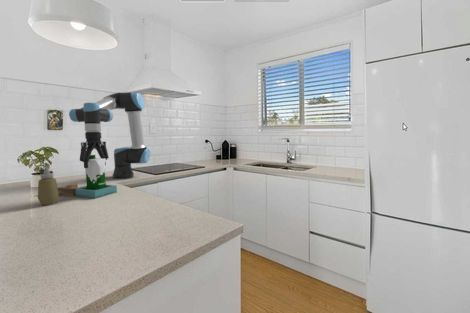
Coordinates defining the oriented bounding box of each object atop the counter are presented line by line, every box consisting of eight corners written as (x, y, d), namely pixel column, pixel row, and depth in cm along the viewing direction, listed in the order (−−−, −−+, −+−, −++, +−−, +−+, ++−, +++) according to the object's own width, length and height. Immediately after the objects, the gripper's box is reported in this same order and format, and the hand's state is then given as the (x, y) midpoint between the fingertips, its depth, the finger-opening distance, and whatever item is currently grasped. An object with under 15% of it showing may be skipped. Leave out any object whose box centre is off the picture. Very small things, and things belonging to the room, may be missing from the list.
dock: (76, 190, 143) (76, 183, 142) (92, 191, 139) (91, 184, 138) (57, 194, 132) (56, 187, 132) (73, 196, 128) (73, 189, 128)
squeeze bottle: (58, 200, 120) (55, 165, 119) (60, 203, 115) (58, 166, 113) (37, 203, 115) (34, 167, 113) (39, 207, 109) (36, 168, 107)
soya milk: (96, 188, 137) (93, 154, 135) (109, 189, 136) (107, 154, 134) (83, 192, 129) (80, 156, 127) (97, 193, 127) (95, 156, 125)
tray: (98, 190, 141) (97, 183, 141) (116, 192, 137) (116, 185, 136) (76, 196, 128) (75, 189, 128) (95, 198, 123) (95, 191, 123)
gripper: (104, 131, 140) (106, 169, 143) (68, 131, 120) (72, 175, 122) (114, 131, 138) (116, 169, 140) (79, 131, 118) (82, 176, 120)
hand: (95, 172), depth 131 cm, fingers closed on soya milk, 9 cm apart
